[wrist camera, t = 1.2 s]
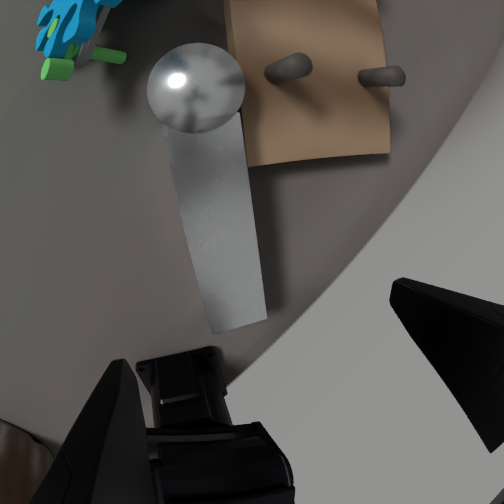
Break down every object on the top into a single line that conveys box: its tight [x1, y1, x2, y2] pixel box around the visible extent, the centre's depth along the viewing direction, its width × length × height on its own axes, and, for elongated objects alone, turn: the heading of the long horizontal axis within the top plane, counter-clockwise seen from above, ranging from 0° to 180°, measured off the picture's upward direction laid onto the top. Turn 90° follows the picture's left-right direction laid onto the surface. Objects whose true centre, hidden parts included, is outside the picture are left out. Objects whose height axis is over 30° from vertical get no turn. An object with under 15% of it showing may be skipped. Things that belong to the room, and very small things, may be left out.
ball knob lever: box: [147, 43, 267, 334], centre depth 15 cm, size 16×4×3 cm, turn 8°
